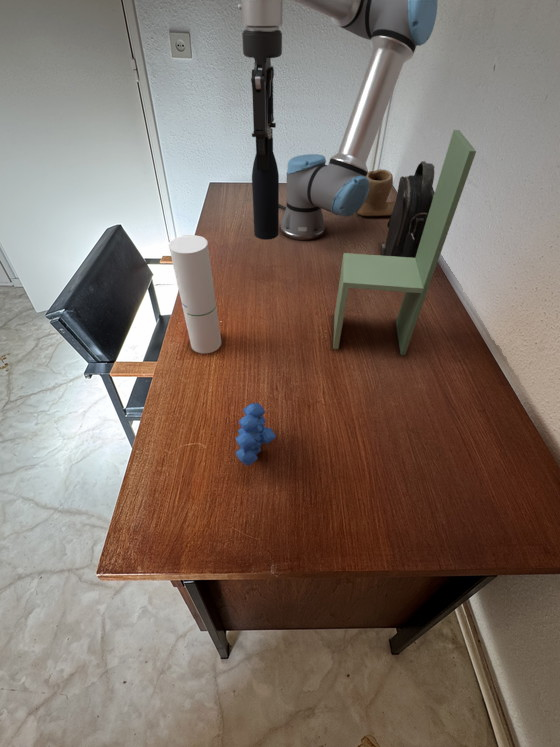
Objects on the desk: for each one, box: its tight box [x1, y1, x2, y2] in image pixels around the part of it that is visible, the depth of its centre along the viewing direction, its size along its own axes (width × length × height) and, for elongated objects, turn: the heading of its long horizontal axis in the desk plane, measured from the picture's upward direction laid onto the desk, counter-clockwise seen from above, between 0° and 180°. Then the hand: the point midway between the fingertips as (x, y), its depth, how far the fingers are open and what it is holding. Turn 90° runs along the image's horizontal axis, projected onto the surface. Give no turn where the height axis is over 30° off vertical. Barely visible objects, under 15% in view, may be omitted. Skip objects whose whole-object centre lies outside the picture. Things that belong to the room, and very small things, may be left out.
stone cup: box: [355, 168, 395, 217], centre depth 133 cm, size 15×12×15 cm
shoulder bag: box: [381, 160, 435, 258], centre depth 104 cm, size 23×9×28 cm, turn 172°
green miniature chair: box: [332, 129, 477, 356], centre depth 75 cm, size 12×17×42 cm
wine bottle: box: [251, 94, 280, 241], centre depth 87 cm, size 6×6×30 cm
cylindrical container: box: [168, 234, 222, 355], centre depth 79 cm, size 7×7×25 cm
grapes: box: [234, 402, 277, 466], centre depth 63 cm, size 12×7×12 cm, turn 171°
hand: (265, 164), depth 86 cm, fingers closed on wine bottle, 5 cm apart
